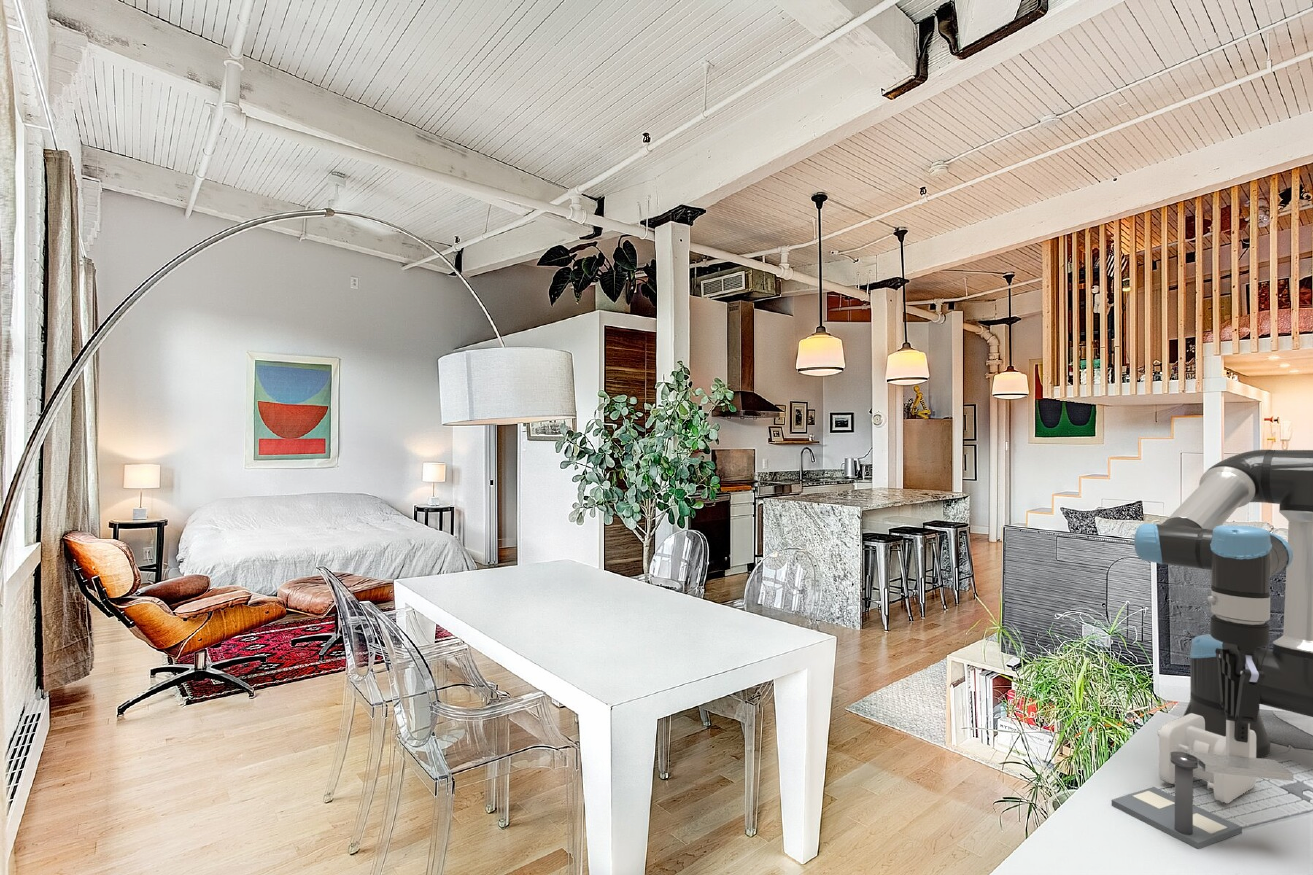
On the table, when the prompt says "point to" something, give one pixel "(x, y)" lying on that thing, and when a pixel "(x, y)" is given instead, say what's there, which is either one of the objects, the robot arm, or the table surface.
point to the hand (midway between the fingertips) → (1237, 757)
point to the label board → (1169, 819)
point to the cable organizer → (1193, 738)
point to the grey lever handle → (1232, 765)
